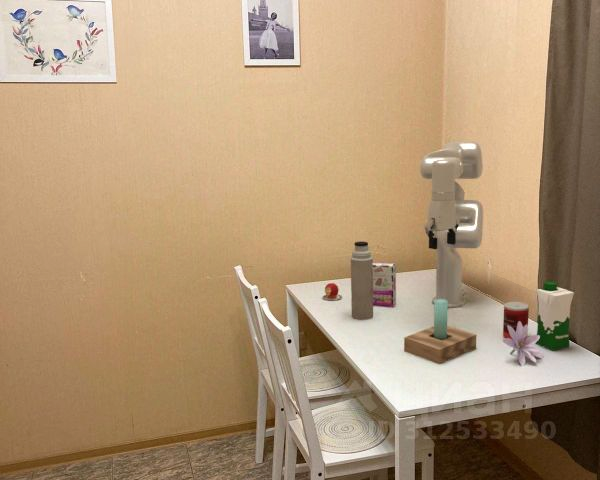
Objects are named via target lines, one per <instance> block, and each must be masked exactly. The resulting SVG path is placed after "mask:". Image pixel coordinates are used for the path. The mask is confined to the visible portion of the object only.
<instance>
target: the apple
mask: <svg viewBox="0 0 600 480" xmlns="http://www.w3.org/2000/svg"><path fill="white" fill-rule="evenodd" d="M324 292H325V294H324V295H323V296H322V299H323V300H327V301H337V300H340V299H342V298H343V296H342V295H341V294H339V287H338V285H337V284H336V283H335V282H331V283H327V284H325V287H324Z"/></svg>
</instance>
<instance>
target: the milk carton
mask: <svg viewBox="0 0 600 480" xmlns="http://www.w3.org/2000/svg"><path fill="white" fill-rule="evenodd" d="M536 294H537V301H538V308H537V309H538V312H537V313H538V314H537V331H536V335H539V336H540V338H539V340H538V341H537V342H536V343H535V345H538V346H540V347H542V348H545V349H548V350H550V351H552V352H553V351H554V352H555V351H557V350H562V349H566V348H570V332H569V331H570V320H571V319H570V316H571V304H572V301H573V298H574V294H575V292H574V291H570V290H568V289H565V288H561V287H558V282H556V281H544V282H543V287H542V288H537V289H536Z"/></svg>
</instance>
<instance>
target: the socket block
mask: <svg viewBox="0 0 600 480" xmlns="http://www.w3.org/2000/svg"><path fill="white" fill-rule="evenodd" d="M403 341H404V343H403V347H404V348H403V351H404V352H406V353H409V354H412V355H415V356H418V357H420V358H423V359H425V360H428V361H431V362H434V363H437V364H442V363H445V362H447V361H449V360H452V359H454V358H457V357H458V356H461V355H464V354H466V353H468V352H470V351H473V350H475V349H477V334H476V333H473V332H469V331H466V330H462V329H460V328H455V327H452V326H449V325H447V339H444V340H439V339H436V338H434V326H431V327H428V328H425V329H424V330H421V331H418V332H414V333H413V334H410V335H407V336H404V338H403Z"/></svg>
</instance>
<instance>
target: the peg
mask: <svg viewBox="0 0 600 480" xmlns="http://www.w3.org/2000/svg"><path fill="white" fill-rule="evenodd" d="M433 305H434V309H433V310H434V314H433V315H434V316H433V317H434V319H433V323H434V324H433V327H434V338H436V339H439V340H444V339H447V326H448V309H449V307H448V301H447V300H445V299H436V300H435V301H434V304H433Z"/></svg>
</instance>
